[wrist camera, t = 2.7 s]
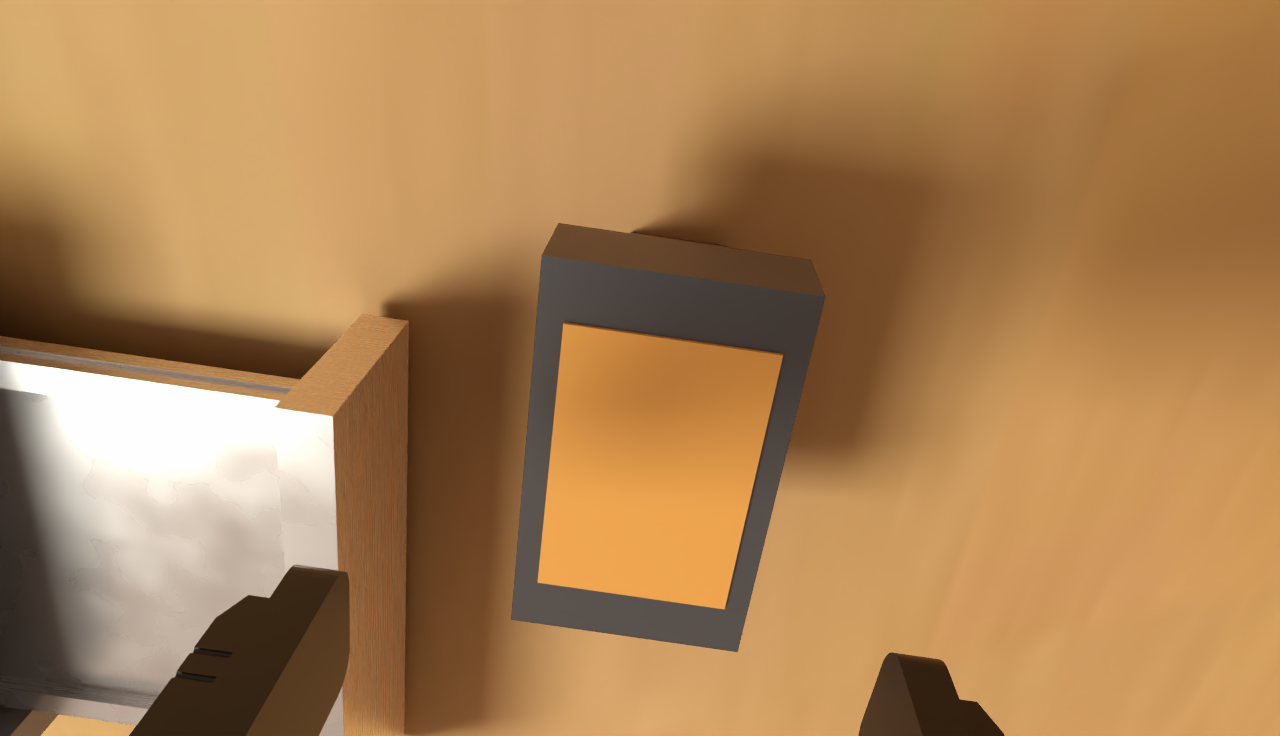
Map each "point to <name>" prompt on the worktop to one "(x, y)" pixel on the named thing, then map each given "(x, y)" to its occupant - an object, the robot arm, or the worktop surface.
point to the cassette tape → (657, 432)
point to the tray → (195, 516)
